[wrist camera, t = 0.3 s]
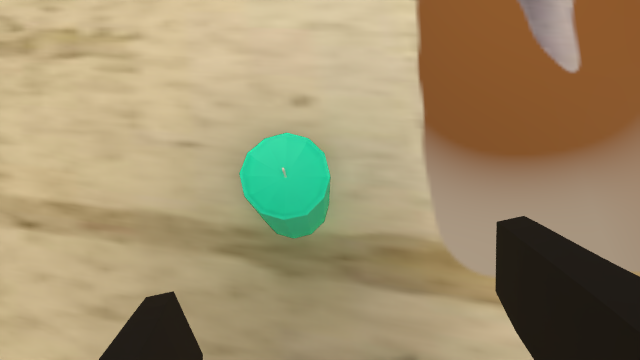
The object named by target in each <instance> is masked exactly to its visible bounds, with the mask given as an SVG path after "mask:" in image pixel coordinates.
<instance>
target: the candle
mask: <svg viewBox="0 0 640 360" xmlns="http://www.w3.org/2000/svg"><path fill="white" fill-rule="evenodd" d="M239 174H240V179H241V183H242V187H243V192H244V196H245V198H246V199H247V200H248V201H249V202H250V204H251V205H252V206H253V207H254V208H255V210H256V211H257V212H258V213H259V214H260V216H261V217H262V218H263V219H264V220H265V221H266V223H267V224H268V225H269V226H270V227H271V228H272V229H273V230H274V231H275V232H276V233H277V234H280V235H284V236H287V237H291V238H298V237H302V236H306V235H310V234H312V233H313V232H314V231H315V230H316V229H317V228H318V227H319V226H320V225H321V224H322V223H323V222H324V220H325V217H326V213H327V210H328V206H329V192H330V173H329V169H328V165H327V161H326V157H325V153H324V152H322V151H321V150H320V149H319V148H318V147H317V146H316V145H315V144H314V143H313V142H312V141H311V140H310V139H309V138H305V137H302V136H298V135H294V134H290V133H284V134H280V135H276V136H273V137H269V138H265V139H264V140H262V141H261V142H260V143H259V144H258V145H257V146H255V147H254V148H253V149H252V150H251V151H249V152H248V153H247V155H246V158H245V160H244V163H243V166H242V168H241V171H240V173H239Z"/></svg>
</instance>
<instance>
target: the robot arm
mask: <svg viewBox="0 0 640 360" xmlns="http://www.w3.org/2000/svg"><path fill="white" fill-rule="evenodd" d="M496 293H497V295H498V297H499V299H500V301H501V303H502V305H503V307H504V309H505V311H506V313H507V315H508V317H509V319H510V321H511V323H512V325H513V327H514V329H515V331H516V332H517V334H518V336H519V337H520V339H521V340H522V342H523V343H524V345H525V346H526V348H527V349H528V351H529V352H530V354H531V355H532V357H533V358H534V360H640V277H639V276H637V275H635V274H633V273H631V272H629V271H627V270H625V269H623V268H621V267H619V266H617V265H615V264H613V263H611V262H610V261H608V260H606V259H603V258H601V257H600V256H598V255H596V254H594V253H592V252H590V251H589V250H587V249H585V248H583V247H581V246H579V245H577V244H576V243H574V242H572V241H570V240H568V239H566V238H564V237H563V236H561V235H559V234H557V233H555V232H553V231H552V230H550V229H548V228H546V227H544V226H543V225H540V224H538V223H537V222H535V221H533V220H531V219H529V218H527V217H525V216H522V217H517V218H513V219H508V220H503V221H499V222H497V235H496ZM99 360H203V354H202V352H201V350H200V347H199V345H198V343H197V341H196V339H195V337H194V335H193V332H192V330H191V328H190V326H189V324H188V322H187V319H186V317H185V315H184V313H183V311H182V309H181V306H180V304H179V302H178V300H177V298H176V296H175V293H174V291H173V292H169V293H164V294H159V295H155V296H150V297H146V298H145V299H144V301H143V302H142V303H141V304H140V306H139V307H138V308H137V310H136V311H135V312H134V314H133V315H132V316H131V317H130V319H129V320H128V321H127V323H126V324H125V325H124V327H123V328H122V329H121V331H120V332H119V333H118V335H117V336H116V337H115V339H114V340H113V341H112V343H111V344H110V345H109V347H108V348H107V349H106V351H105V352H104V353H103V355H102V356H101V357H100V358H99Z"/></svg>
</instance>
